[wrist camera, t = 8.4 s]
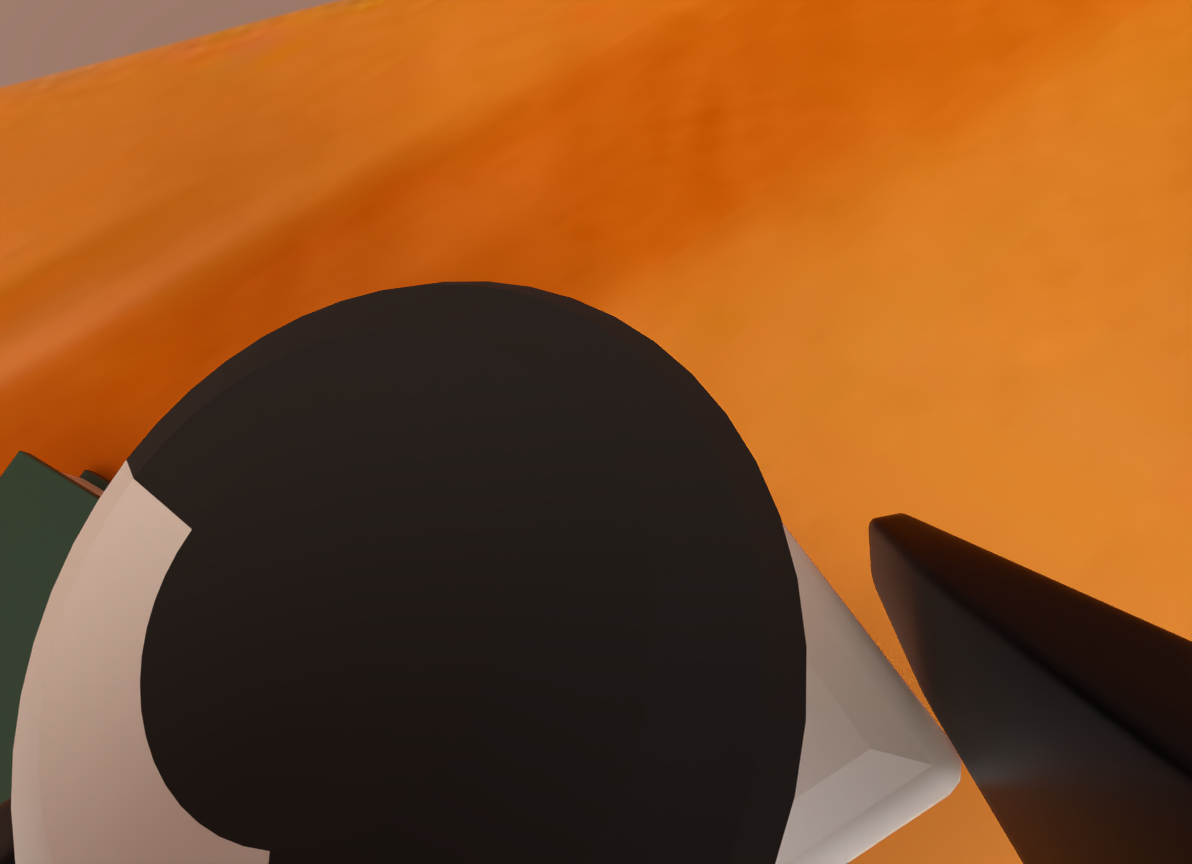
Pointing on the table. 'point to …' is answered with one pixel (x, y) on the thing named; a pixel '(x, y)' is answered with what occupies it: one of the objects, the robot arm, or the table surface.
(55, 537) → the book
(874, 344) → the table surface
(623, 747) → the medicine bottle
